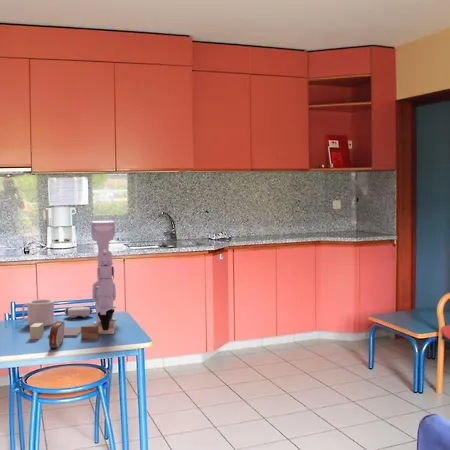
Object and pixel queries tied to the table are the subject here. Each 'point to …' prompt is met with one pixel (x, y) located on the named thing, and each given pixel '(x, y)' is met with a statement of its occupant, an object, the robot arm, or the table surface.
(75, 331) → the slate plate
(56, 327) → the tin
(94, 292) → the robot arm
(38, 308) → the mug
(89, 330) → the walnut block
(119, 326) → the table surface
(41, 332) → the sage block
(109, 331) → the tan block
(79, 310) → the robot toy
